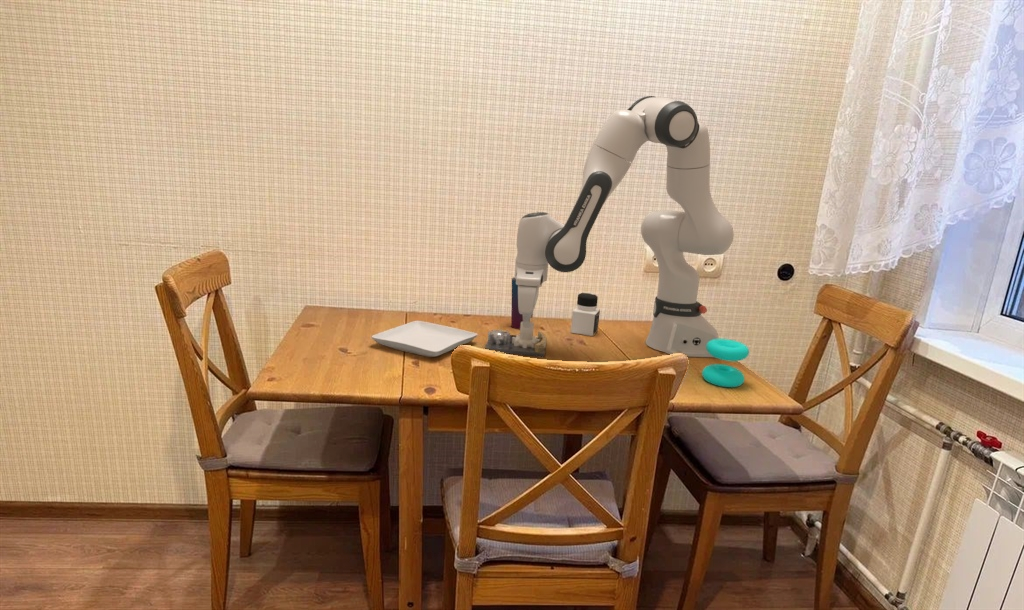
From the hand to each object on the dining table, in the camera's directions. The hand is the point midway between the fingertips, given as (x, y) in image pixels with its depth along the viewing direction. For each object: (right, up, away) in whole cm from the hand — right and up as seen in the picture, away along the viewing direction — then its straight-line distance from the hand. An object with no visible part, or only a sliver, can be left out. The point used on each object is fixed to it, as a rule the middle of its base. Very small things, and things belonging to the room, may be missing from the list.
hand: (527, 322), depth 166 cm
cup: (-2, -2, +21) cm, 21 cm away
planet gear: (-1, -6, +1) cm, 6 cm away
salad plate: (-28, -7, -3) cm, 29 cm away
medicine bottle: (+18, -4, +20) cm, 27 cm away
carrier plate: (-3, -7, +1) cm, 8 cm away
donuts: (+48, -15, -15) cm, 52 cm away
